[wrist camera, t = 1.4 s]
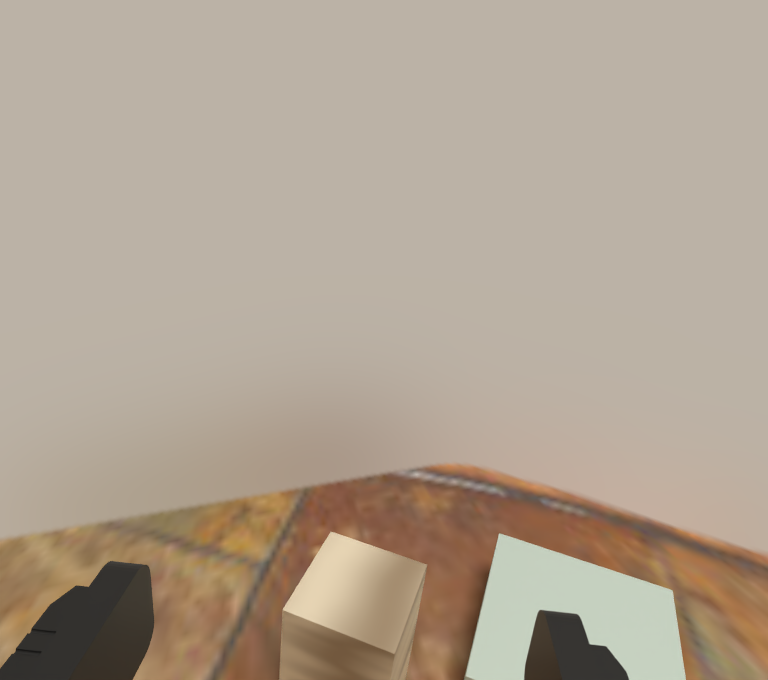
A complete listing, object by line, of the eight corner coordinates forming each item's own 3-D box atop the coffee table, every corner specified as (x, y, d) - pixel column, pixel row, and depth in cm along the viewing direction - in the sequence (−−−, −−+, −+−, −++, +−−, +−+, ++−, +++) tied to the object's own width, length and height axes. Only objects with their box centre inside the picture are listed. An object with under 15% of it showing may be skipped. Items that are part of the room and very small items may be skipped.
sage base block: (452, 724, 30) (465, 676, 29) (488, 576, 40) (499, 533, 38) (671, 818, 27) (699, 770, 26) (652, 633, 37) (672, 590, 35)
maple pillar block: (275, 752, 28) (282, 610, 24) (319, 665, 32) (331, 531, 28) (370, 797, 26) (394, 654, 22) (401, 699, 31) (427, 564, 27)
